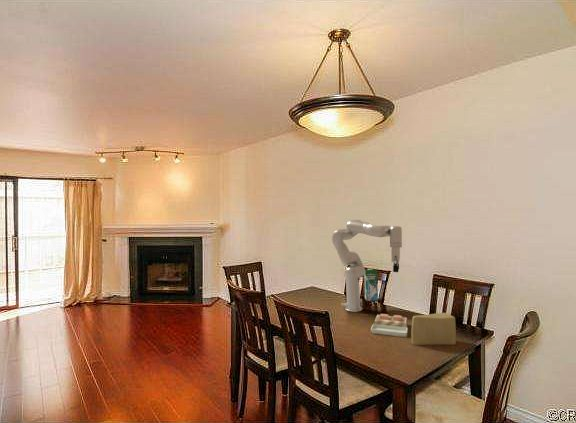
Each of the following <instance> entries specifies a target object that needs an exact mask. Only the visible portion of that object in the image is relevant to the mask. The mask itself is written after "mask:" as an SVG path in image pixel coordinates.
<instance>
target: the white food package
mask: <svg viewBox="0 0 576 423" xmlns="http://www.w3.org/2000/svg"><path fill="white" fill-rule="evenodd" d="M380 315H381V314H376V317H375V319H374V324H379V325H389V326H399V327H408V317H406V316H402V320H401V321H395V320H394V319H393V317H394V315H388V320H385V319H380Z"/></svg>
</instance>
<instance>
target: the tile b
mask: <svg viewBox="0 0 576 423" xmlns="http://www.w3.org/2000/svg"><path fill="white" fill-rule="evenodd" d="M393 316H394V317H393V319H394V320H395V321H401V320H402V317H403V316H402V315H399V314H393Z"/></svg>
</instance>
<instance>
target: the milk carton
mask: <svg viewBox="0 0 576 423" xmlns="http://www.w3.org/2000/svg"><path fill="white" fill-rule="evenodd" d="M363 278H364V280H363V281H364V299H365V301H367V302H378V301H379V297H378V296H379V294H378V289H379V288H378V269H373V268H367V269H365V274H364V276H363Z"/></svg>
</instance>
